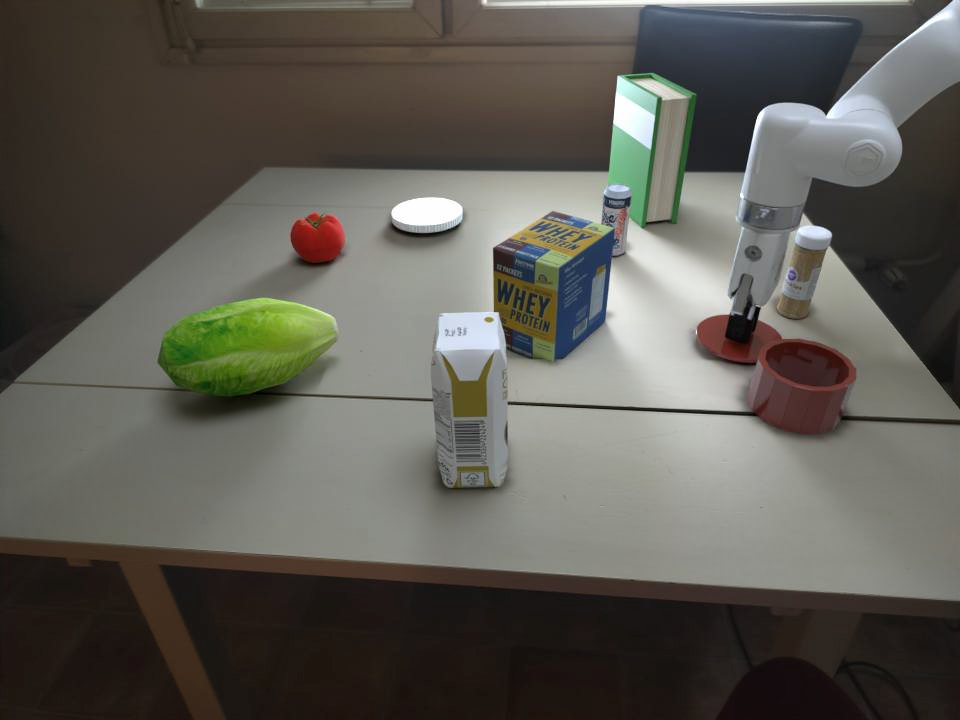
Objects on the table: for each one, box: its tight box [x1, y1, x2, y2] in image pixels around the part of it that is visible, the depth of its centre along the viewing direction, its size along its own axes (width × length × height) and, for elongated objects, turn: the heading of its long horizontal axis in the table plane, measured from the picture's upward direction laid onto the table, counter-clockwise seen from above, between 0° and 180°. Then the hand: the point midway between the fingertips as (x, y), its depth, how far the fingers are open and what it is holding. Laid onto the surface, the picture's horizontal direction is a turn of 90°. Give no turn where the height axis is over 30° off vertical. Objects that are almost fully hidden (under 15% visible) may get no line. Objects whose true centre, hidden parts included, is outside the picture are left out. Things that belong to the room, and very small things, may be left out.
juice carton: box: [430, 311, 509, 489], centre depth 71 cm, size 8×9×19 cm
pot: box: [746, 338, 857, 435], centre depth 81 cm, size 11×11×8 cm
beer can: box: [600, 184, 632, 257], centre depth 117 cm, size 5×5×12 cm
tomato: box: [289, 211, 346, 264], centre depth 119 cm, size 9×9×8 cm
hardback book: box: [607, 72, 698, 228], centre depth 129 cm, size 18×7×24 cm, turn 13°
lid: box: [695, 303, 783, 364], centre depth 92 cm, size 12×12×7 cm
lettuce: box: [156, 297, 340, 398], centre depth 87 cm, size 13×23×12 cm, turn 110°
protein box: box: [492, 210, 615, 362], centre depth 95 cm, size 10×15×16 cm
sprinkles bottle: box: [776, 225, 833, 320], centre depth 98 cm, size 5×5×13 cm
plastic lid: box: [390, 197, 463, 234], centre depth 132 cm, size 14×14×2 cm
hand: (739, 333), depth 93 cm, fingers closed on lid, 2 cm apart
